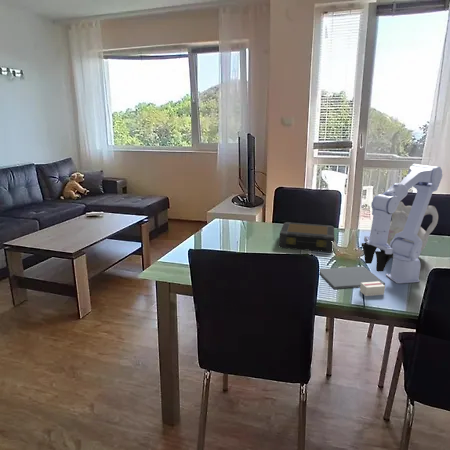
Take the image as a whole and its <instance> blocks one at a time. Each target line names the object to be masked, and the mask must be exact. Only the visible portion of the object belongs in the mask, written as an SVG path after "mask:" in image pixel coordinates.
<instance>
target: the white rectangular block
mask: <svg viewBox="0 0 450 450" xmlns="http://www.w3.org/2000/svg"><path fill="white" fill-rule="evenodd" d="M359 288H360V289H359V292H361V294H363V295H364V296H365V297H368V296H370V297H373V296H381V295H382V296H384V295H385V291H386V290H385V288H386V285H383V284H382V283H381V282H379V281H376V282H363V283H361V286H360V287H359Z"/></svg>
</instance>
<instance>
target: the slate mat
mask: <svg viewBox="0 0 450 450" xmlns="http://www.w3.org/2000/svg"><path fill="white" fill-rule="evenodd" d="M319 269H320V273H319V274H320V276H321V277H322V278H323V279H325V281H326V282H327V283H328V284H329V285H330V286H331V287H332V288H333V289H334V290H336V289H351V288H360V286H361V283H363V282H376V281H379V282H381V283H382V284H383V285H384V286H386V285H385V284H386V283H385V282H384V281H383V280H382V279H380V277H378V276H376V275H375V274H374V273H373V272H372V271H370V270H369V269H368V268H366V267H365V266H364V265H363V266H362V265H360V266H348V267H347V266H346V267H332V268H331V267H330V268H319Z"/></svg>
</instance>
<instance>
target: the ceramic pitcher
mask: <svg viewBox="0 0 450 450" xmlns="http://www.w3.org/2000/svg"><path fill="white" fill-rule="evenodd" d="M411 207H412V205H405V204H404V202H403V201H402V200H401V201H400V202H399V205H398V206H397V209H396V211H395V212H394V213H392V217H391V223H390V228H389V234H388V240H387V244H388V245H390V243H391V241H392V240H393V238H394V236H395V234H396V233H399V232H401V231H403V229H404V227H405V224H406V221H407V218H408V216H409V213H410V210H411ZM428 215H430V216H432V220H431V221H432V222H431V223H430V224H429V226H428V227H427V229H426V230H425V229H424V228H423V227H422V226H420V228H419V231H418V234H417V235H418V236H419V238H420V239H421V240H422V242H423V243H422V247H421V252H422V251H423V250H424V249H425V248H426V247H427V244H428V241H429V239H430V238H429V236H430V234H431V233H432V232H433V231H434V230H435V228H436V226H437V224H438V222H439V212H438V210H437V208H436V206H435V205H428V206H427V209H426V212H425V215H424V217H425V216H428ZM403 240H405V241H409V240H406V239H403ZM409 242H413V241H409ZM413 243H414V242H413ZM391 258H393V256H392V257H391Z"/></svg>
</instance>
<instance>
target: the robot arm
mask: <svg viewBox="0 0 450 450" xmlns="http://www.w3.org/2000/svg"><path fill="white" fill-rule="evenodd" d="M442 179H443V170H442V168H441V166H439V165H437V166H433V165H427V164H426V165H425V164H418V163H412V165H411V166H410V167H408V171H407V175H406V176H405V177H404V178H403V179H402V180H401V181H400V182H395V183H393V184H392V185H391V186H390V187H389V188H387V189H386V190H385V191H384V192H383V193H380V194H376V195H375V196H374V197H373V199H372V201H371V206H370V207H371V209H372V211H371V214H372V220H371V221H372V222H371V228H370V233H369V235H365V236H364V238H363V243H361V247H362V251H363V255H364V264H370V265H371V264H372V262H373V259H374V256H376V265H375V269H376V272H382V273H383V272H384V270H385V268H386V266H387V264H388V263H389V261H390V260H391V259H392V263H391V270H390V273H386V274H385V276H386V277H388V279H390V280H391V281H393V282H394V283H396V284H409V283H420V280H419V278H420V272H421V266H422V265H421V261H420V259H419V257H420V255H421V253H422V251H421V247H422V243H423V242H422V240H421V239H420V238H419V236H418V235H417V234H418V231H419V228H420V226H421V225H422V223H423V220H424V217H425V216H426V215H425V212H426V209H427V206H429V204H430V201H431V198H432V195H433V193H434V192H436V191H438V189H439V186H440V184H441V181H442ZM412 187H413V189H416V194H415V196H414V200H413V201H412V205H411V206H412V207H411V210H410V213H409V216H408V218H407V221H406V224H405V227H404V229H403V231H401V232H399V233H396V234H395V236H394V238H393V240H392V241H391V243H390V245H388V244H387V240H388V234H389V228H390V223H391V221H392V213H394V212H395V211H396V209H397V206H398V205H399V202H401V201H402V200H403V199H404V198H406V197H407V196H408V193H409V190H411V189H412ZM424 215H425V216H424ZM421 227H422V226H421ZM403 239H406V240H409V241H413V242H414V243H413V242H409V241H405V240H403ZM377 249H379V250H377ZM392 256H393V257H392Z"/></svg>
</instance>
